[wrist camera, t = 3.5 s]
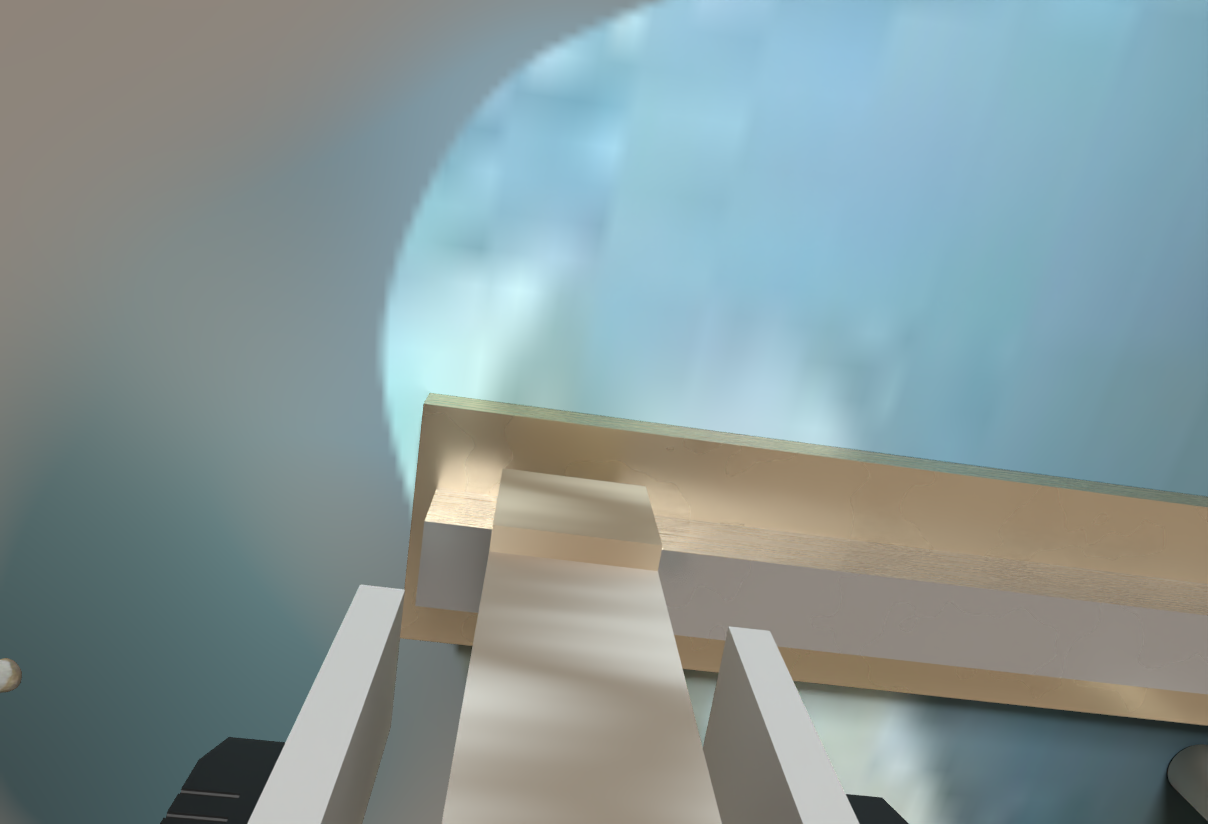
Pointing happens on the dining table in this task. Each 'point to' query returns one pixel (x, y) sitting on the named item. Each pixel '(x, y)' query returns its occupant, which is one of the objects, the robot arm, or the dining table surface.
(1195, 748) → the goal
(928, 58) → the dining table surface
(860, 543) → the rail
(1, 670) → the bull figurine
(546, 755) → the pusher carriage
